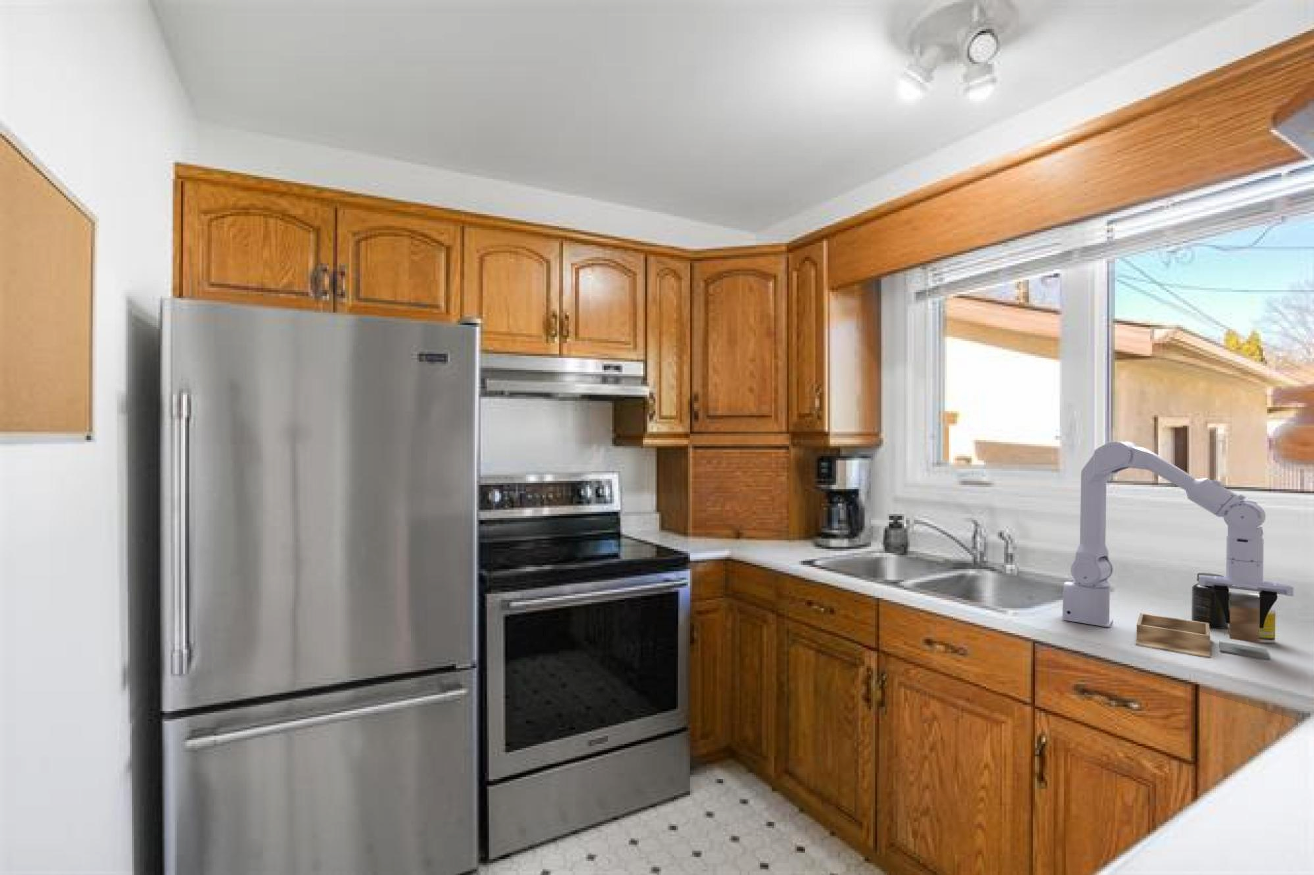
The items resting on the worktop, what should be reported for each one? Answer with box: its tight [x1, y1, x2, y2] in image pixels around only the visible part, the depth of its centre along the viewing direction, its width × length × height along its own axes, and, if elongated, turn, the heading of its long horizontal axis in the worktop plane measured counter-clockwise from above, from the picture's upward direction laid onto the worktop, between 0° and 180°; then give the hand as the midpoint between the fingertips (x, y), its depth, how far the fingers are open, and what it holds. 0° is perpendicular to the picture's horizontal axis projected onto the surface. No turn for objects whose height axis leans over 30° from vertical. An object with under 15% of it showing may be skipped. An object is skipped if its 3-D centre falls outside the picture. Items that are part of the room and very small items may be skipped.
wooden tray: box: [1134, 612, 1211, 658], centre depth 142 cm, size 12×20×4 cm, turn 140°
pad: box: [1218, 641, 1271, 661], centre depth 134 cm, size 8×8×1 cm
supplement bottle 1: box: [1191, 572, 1229, 629], centre depth 154 cm, size 7×7×12 cm
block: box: [1228, 591, 1260, 644], centre depth 134 cm, size 4×4×9 cm
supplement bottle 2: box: [1250, 593, 1276, 644], centre depth 142 cm, size 5×5×10 cm
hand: (1243, 624), depth 134 cm, fingers closed on block, 4 cm apart
